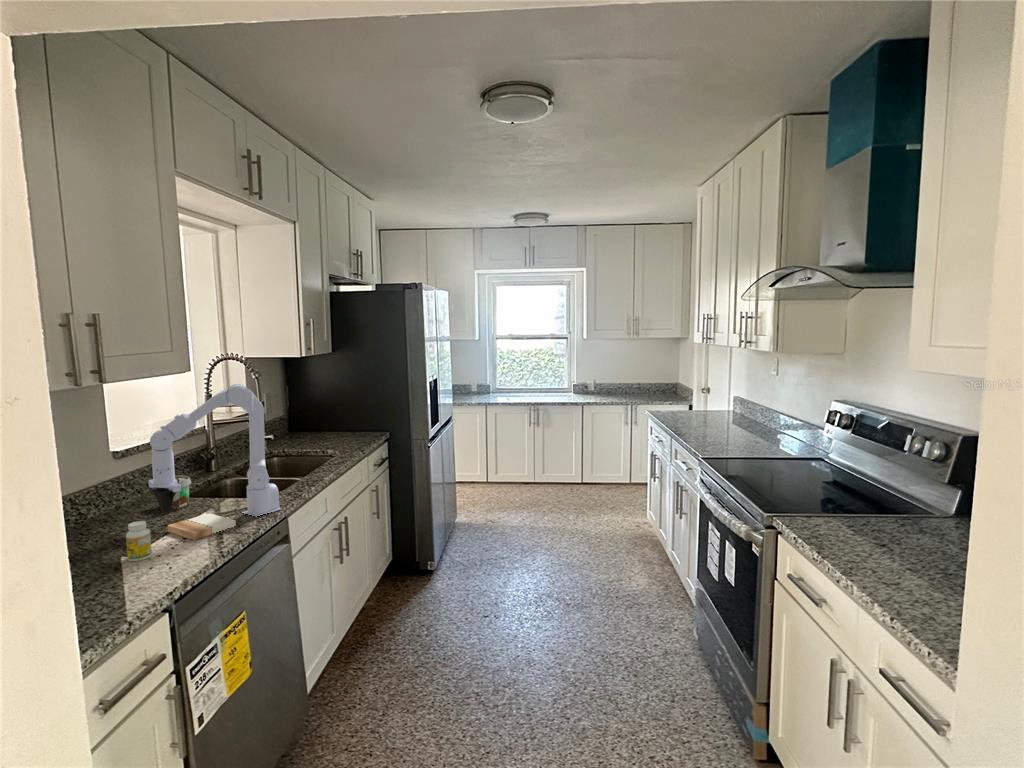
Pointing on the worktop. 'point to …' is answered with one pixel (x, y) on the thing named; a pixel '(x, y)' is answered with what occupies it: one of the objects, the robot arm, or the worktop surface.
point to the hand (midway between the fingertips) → (166, 511)
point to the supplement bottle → (138, 541)
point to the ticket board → (213, 522)
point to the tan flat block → (189, 529)
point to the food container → (182, 492)
